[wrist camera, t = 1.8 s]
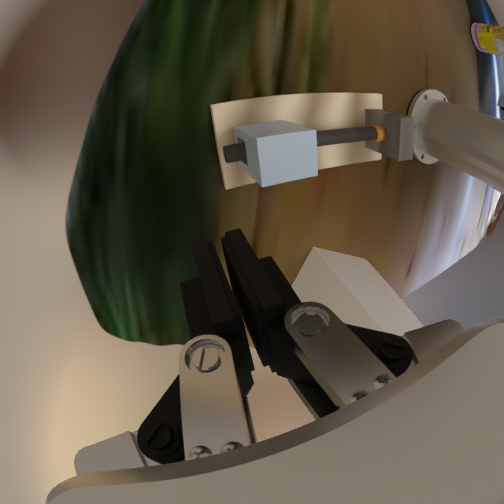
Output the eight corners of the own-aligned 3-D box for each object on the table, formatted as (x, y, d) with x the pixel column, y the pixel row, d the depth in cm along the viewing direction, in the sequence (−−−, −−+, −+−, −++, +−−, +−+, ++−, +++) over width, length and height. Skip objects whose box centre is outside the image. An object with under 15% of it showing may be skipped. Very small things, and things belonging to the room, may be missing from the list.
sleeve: (282, 119, 25) (316, 129, 19) (285, 156, 27) (317, 175, 22) (233, 127, 24) (256, 138, 19) (239, 165, 26) (262, 187, 21)
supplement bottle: (475, 19, 21) (526, 29, 11) (485, 46, 25) (534, 59, 15) (466, 26, 22) (522, 35, 12) (476, 55, 26) (529, 69, 16)
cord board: (376, 93, 27) (417, 101, 22) (376, 157, 32) (413, 174, 27) (209, 104, 23) (226, 108, 18) (223, 186, 29) (242, 213, 23)
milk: (365, 259, 43) (470, 373, 22) (332, 311, 48) (412, 425, 27) (312, 246, 37) (438, 399, 17) (278, 308, 42) (362, 456, 22)
